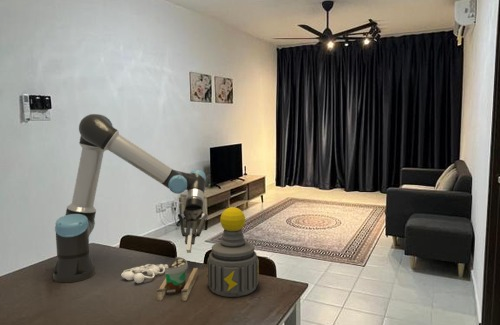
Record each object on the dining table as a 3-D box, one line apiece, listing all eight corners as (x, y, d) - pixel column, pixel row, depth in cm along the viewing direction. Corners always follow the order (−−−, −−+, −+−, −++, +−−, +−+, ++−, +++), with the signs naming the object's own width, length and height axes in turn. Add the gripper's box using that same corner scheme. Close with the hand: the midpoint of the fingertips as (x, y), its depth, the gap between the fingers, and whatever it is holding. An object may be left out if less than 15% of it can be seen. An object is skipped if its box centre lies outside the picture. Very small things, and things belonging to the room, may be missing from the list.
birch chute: (156, 300, 132) (156, 290, 132) (172, 274, 154) (172, 266, 154) (186, 300, 132) (186, 290, 132) (198, 275, 154) (197, 266, 153)
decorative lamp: (203, 298, 134) (202, 213, 131) (211, 276, 153) (210, 201, 150) (258, 298, 134) (258, 213, 130) (258, 277, 152) (259, 202, 149)
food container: (182, 297, 135) (182, 269, 134) (165, 296, 136) (164, 268, 135) (192, 282, 147) (191, 257, 146) (176, 281, 148) (176, 256, 147)
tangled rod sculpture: (152, 266, 167) (151, 257, 167) (177, 270, 159) (176, 260, 159) (115, 280, 151) (114, 270, 151) (140, 286, 143) (140, 275, 143)
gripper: (210, 206, 173) (205, 255, 158) (181, 206, 173) (174, 255, 159) (208, 197, 167) (203, 247, 152) (178, 197, 167) (170, 247, 153)
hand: (188, 251), depth 155 cm, fingers closed
